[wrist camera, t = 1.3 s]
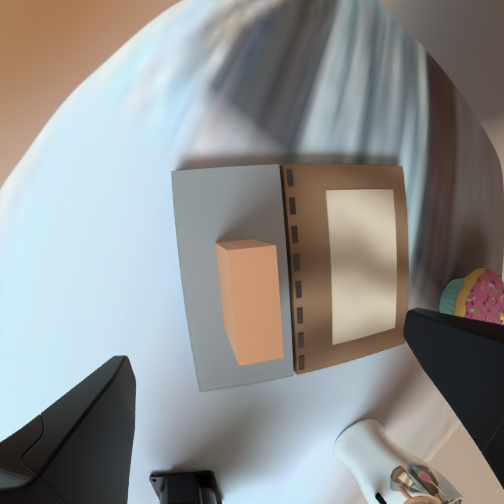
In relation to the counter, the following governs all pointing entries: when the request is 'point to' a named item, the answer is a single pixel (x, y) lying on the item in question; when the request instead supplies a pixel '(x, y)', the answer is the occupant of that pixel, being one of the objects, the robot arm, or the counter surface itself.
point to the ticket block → (345, 260)
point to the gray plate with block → (234, 273)
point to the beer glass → (390, 469)
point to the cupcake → (475, 296)
